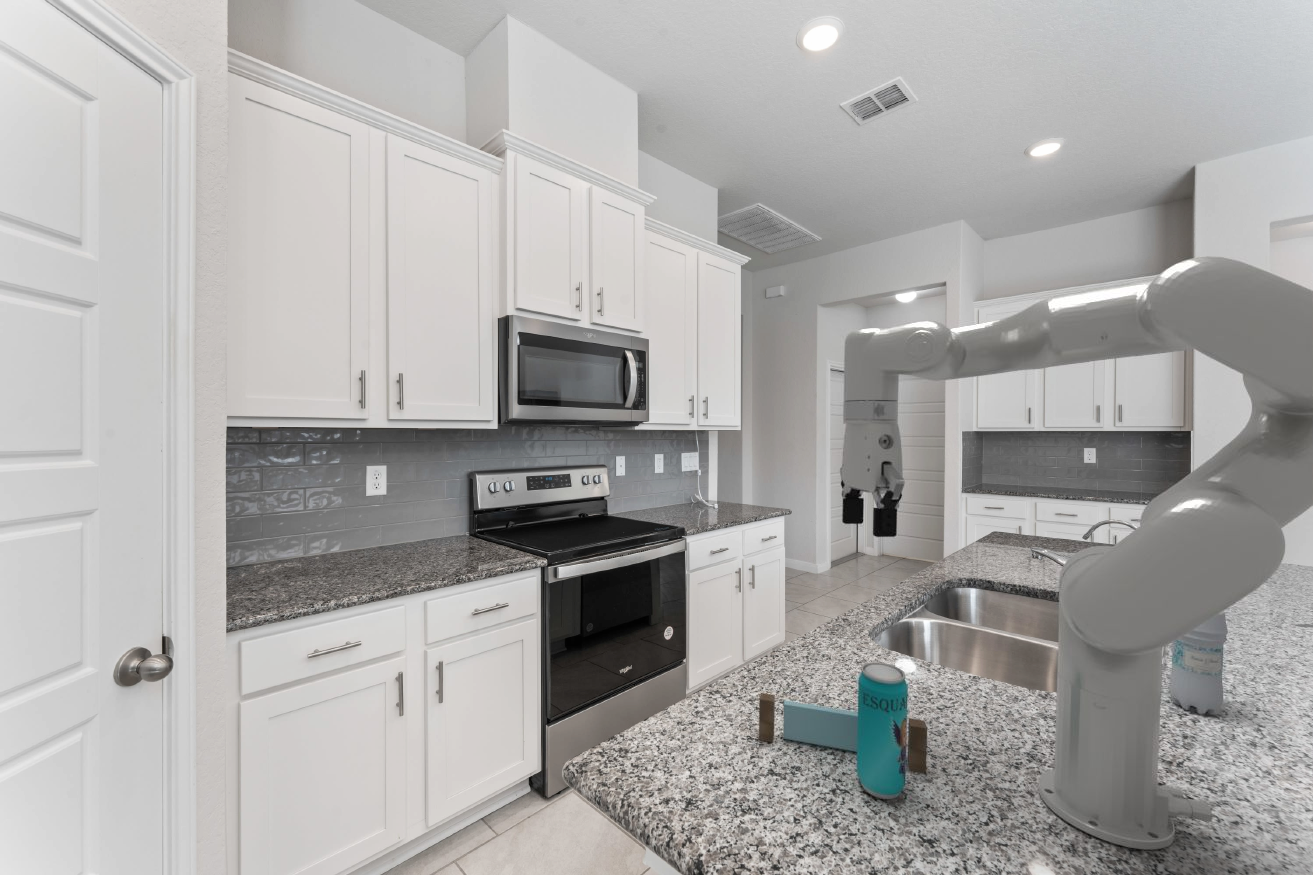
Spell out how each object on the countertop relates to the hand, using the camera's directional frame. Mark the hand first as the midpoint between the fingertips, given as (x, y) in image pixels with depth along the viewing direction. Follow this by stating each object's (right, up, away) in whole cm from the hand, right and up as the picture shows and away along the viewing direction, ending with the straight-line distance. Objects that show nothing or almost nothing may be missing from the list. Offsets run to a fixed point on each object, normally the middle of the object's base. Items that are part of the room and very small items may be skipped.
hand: (867, 529), depth 81 cm
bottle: (+57, -31, +9) cm, 66 cm away
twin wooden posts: (-6, -30, -4) cm, 31 cm away
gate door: (-5, -30, -4) cm, 31 cm away
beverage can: (-3, -31, -12) cm, 33 cm away
